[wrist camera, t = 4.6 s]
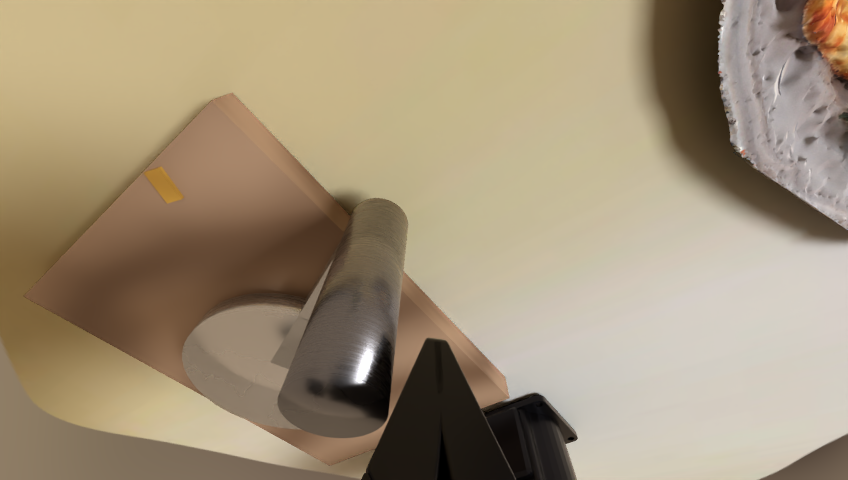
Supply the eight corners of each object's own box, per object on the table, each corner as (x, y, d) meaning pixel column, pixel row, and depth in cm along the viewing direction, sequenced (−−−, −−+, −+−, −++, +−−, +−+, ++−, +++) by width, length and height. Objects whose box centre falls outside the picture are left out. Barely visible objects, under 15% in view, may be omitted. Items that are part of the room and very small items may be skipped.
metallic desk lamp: (334, 426, 23) (295, 597, 16) (178, 375, 20) (50, 556, 13) (491, 257, 15) (542, 451, 8) (272, 134, 12) (76, 275, 5)
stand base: (505, 377, 23) (510, 401, 21) (334, 445, 28) (328, 468, 27) (232, 92, 13) (208, 101, 12) (51, 277, 19) (19, 298, 17)
